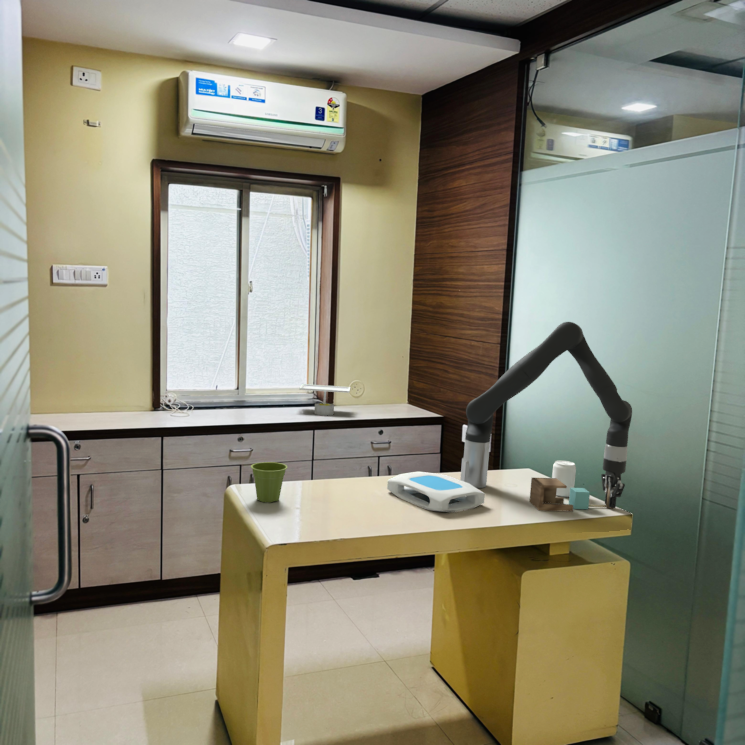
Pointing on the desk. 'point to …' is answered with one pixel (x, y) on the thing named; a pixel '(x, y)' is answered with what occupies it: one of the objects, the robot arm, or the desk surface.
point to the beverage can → (564, 476)
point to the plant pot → (268, 480)
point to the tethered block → (583, 499)
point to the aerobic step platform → (436, 491)
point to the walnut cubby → (547, 495)
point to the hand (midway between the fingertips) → (610, 505)
